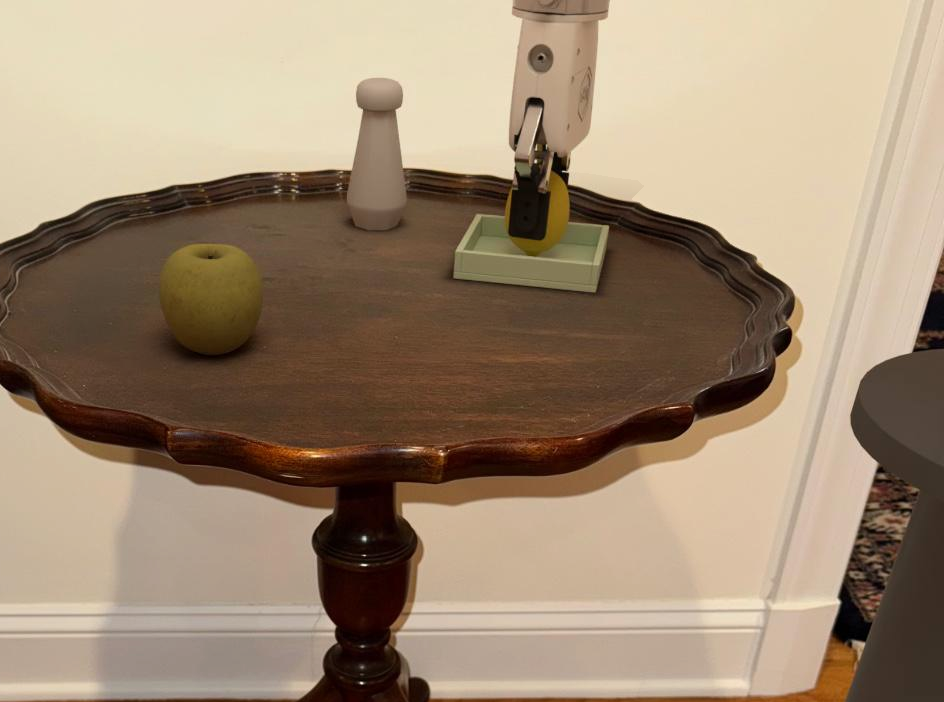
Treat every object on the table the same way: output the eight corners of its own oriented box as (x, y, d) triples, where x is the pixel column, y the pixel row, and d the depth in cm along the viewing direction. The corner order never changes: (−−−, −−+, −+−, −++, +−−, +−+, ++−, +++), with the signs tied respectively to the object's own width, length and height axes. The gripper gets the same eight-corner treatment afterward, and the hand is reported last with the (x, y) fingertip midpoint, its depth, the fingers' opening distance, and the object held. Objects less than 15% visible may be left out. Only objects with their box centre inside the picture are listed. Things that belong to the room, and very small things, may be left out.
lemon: (495, 249, 102) (502, 157, 98) (554, 247, 103) (565, 155, 98) (509, 269, 98) (517, 174, 93) (571, 267, 98) (582, 172, 94)
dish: (605, 251, 104) (609, 225, 102) (595, 293, 95) (599, 265, 93) (474, 239, 106) (476, 213, 105) (453, 278, 97) (454, 251, 96)
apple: (274, 329, 87) (272, 238, 83) (250, 371, 81) (246, 274, 77) (180, 322, 88) (173, 231, 84) (149, 363, 82) (140, 267, 78)
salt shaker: (408, 233, 107) (415, 86, 100) (348, 234, 107) (350, 86, 99) (401, 215, 112) (407, 73, 105) (344, 215, 112) (346, 73, 104)
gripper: (583, 13, 80) (553, 263, 91) (631, -15, 93) (600, 206, 104) (483, 6, 83) (465, 250, 93) (543, -21, 96) (521, 196, 106)
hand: (536, 225), depth 98 cm, fingers closed on lemon, 5 cm apart
